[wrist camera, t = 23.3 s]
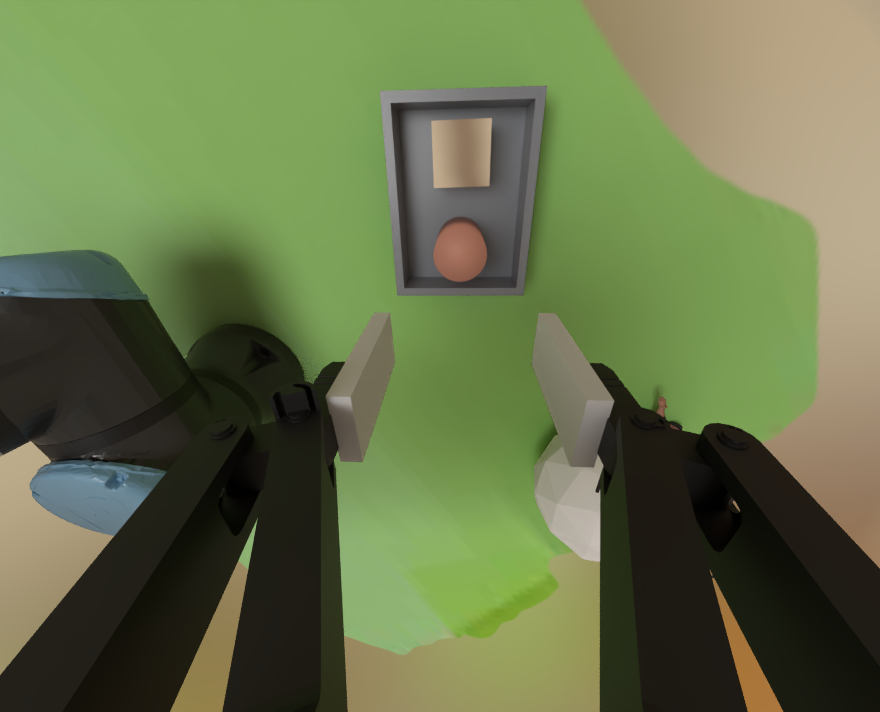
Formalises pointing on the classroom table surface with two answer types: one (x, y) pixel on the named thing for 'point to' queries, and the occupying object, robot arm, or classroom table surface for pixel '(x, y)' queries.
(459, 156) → the wooden cube
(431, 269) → the tote
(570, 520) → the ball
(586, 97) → the classroom table surface
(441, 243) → the red cylinder
